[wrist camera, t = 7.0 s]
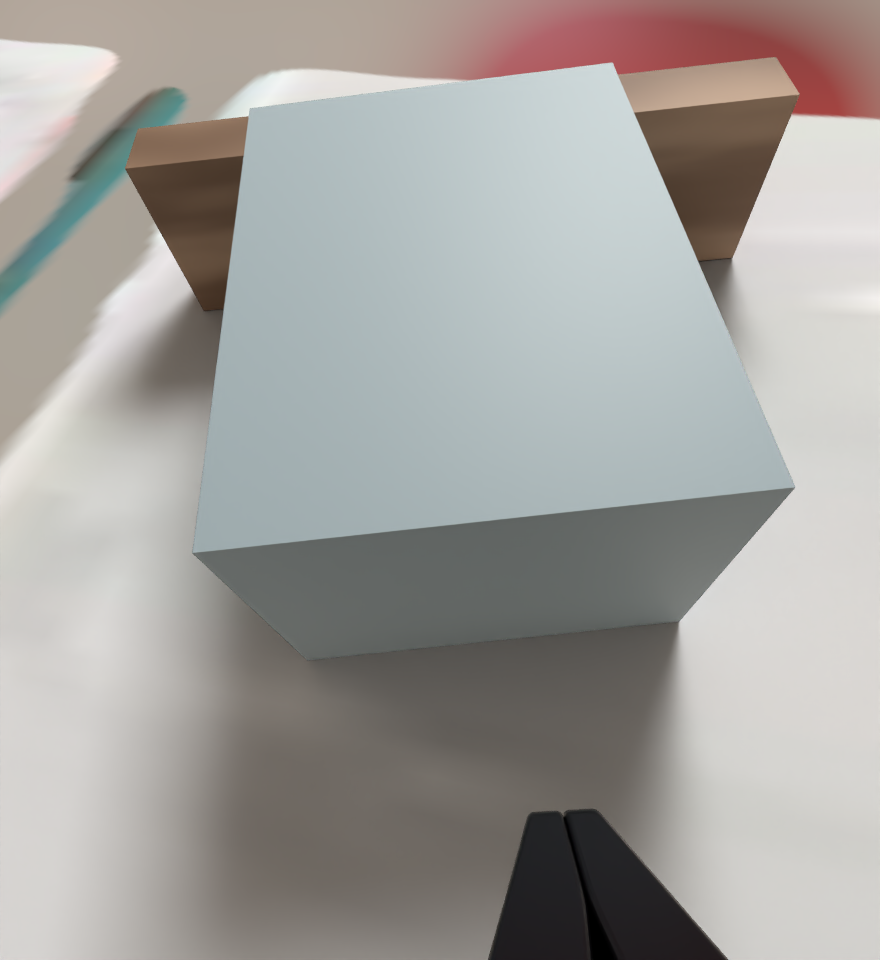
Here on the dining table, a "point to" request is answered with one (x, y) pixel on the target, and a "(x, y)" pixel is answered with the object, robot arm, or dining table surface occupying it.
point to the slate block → (471, 375)
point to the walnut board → (655, 102)
